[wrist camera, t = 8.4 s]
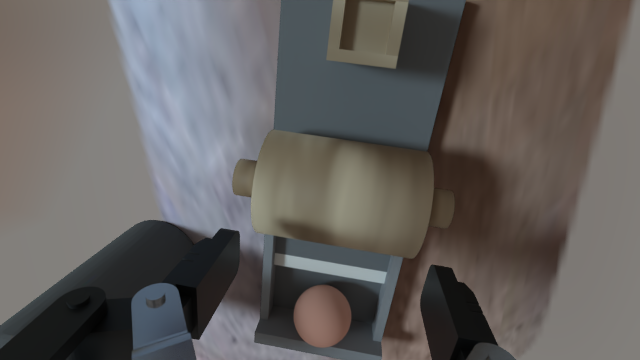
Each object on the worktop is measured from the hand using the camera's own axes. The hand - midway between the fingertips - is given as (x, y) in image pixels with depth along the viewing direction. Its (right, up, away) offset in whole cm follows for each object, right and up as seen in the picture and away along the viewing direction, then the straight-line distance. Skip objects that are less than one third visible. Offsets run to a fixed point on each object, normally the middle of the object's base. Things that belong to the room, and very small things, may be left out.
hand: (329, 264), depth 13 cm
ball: (0, -7, +10) cm, 12 cm away
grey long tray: (+1, +3, +8) cm, 8 cm away
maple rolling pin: (+1, +4, +7) cm, 8 cm away
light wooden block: (+2, +11, +4) cm, 12 cm away
